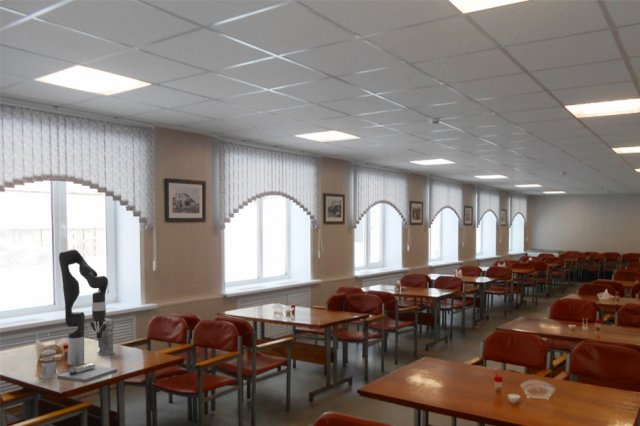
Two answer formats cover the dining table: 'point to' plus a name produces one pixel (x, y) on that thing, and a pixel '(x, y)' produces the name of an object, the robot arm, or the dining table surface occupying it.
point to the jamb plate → (88, 373)
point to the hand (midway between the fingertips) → (99, 338)
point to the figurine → (106, 339)
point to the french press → (48, 364)
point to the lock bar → (81, 368)
